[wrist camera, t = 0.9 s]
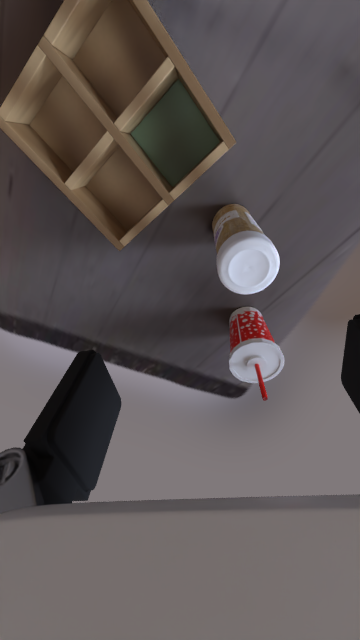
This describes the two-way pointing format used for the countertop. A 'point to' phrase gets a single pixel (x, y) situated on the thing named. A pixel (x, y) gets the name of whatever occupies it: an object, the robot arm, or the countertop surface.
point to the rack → (113, 114)
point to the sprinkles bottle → (243, 251)
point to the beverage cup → (253, 349)
